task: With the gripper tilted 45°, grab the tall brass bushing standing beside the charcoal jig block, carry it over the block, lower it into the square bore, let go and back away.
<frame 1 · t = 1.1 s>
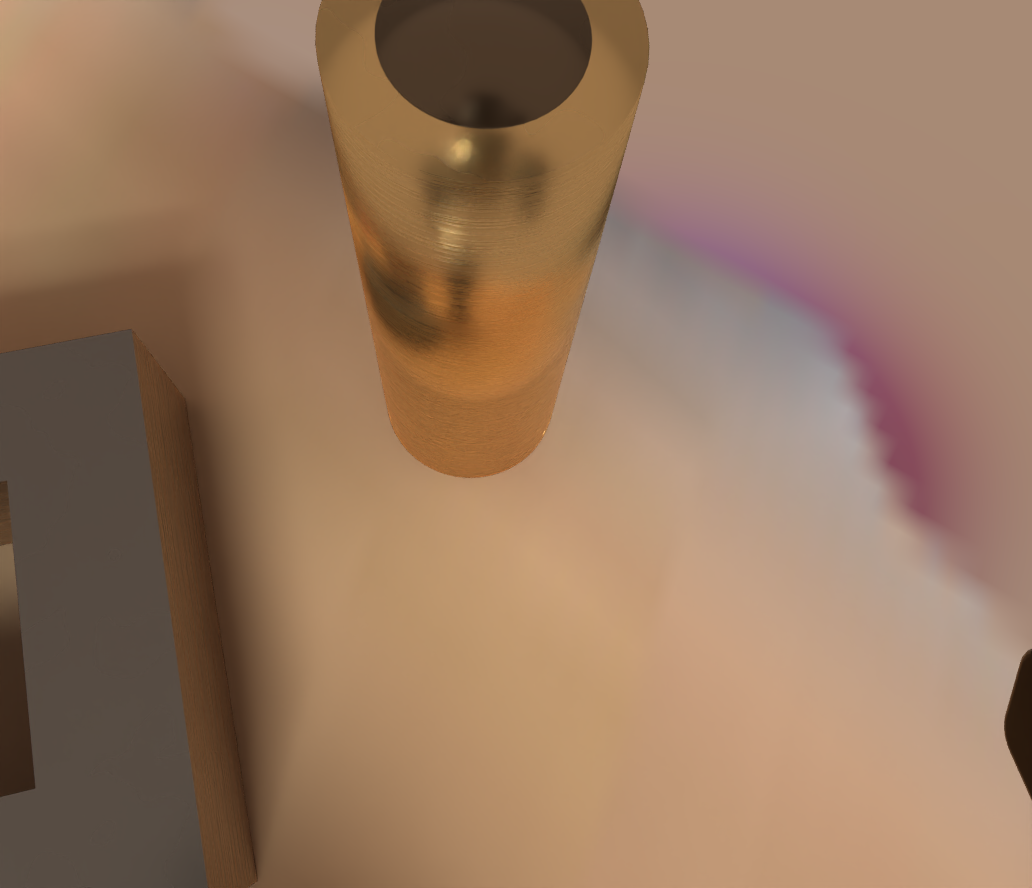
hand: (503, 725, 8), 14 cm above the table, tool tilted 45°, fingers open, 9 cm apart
bushing: (470, 397, 24), on the table
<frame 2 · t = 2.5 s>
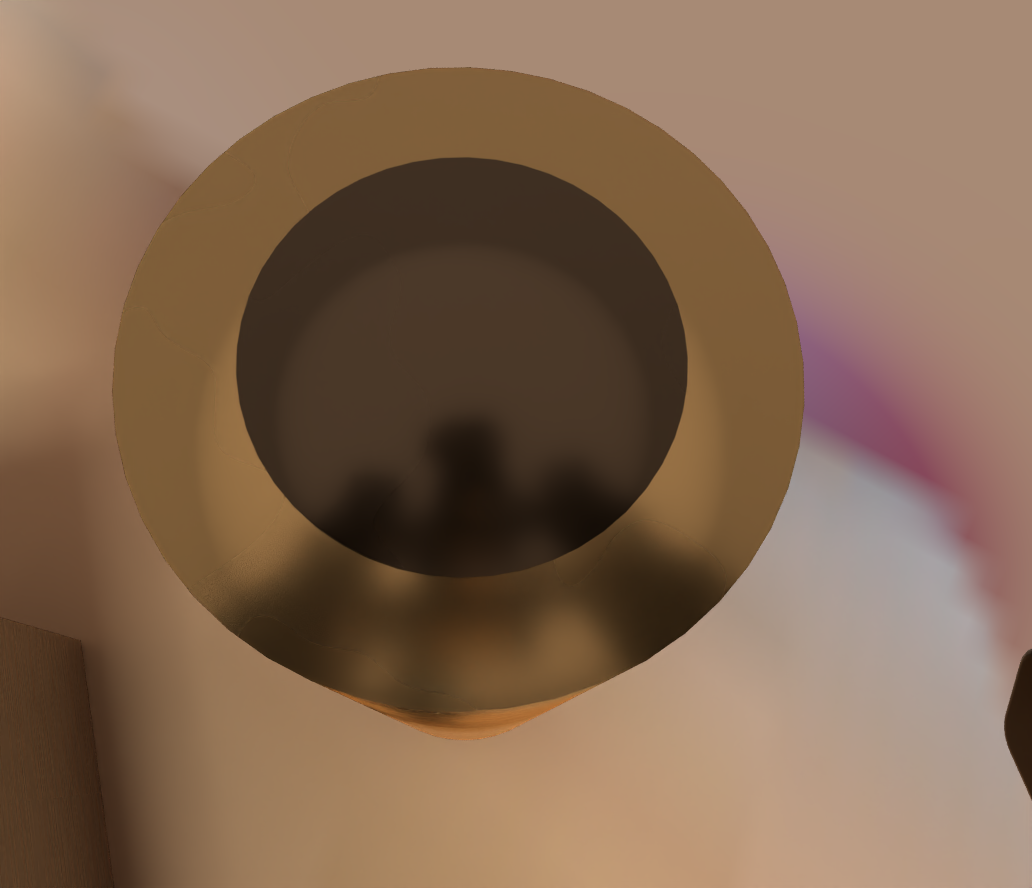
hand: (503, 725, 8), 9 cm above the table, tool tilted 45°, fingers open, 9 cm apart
bushing: (466, 623, 18), on the table
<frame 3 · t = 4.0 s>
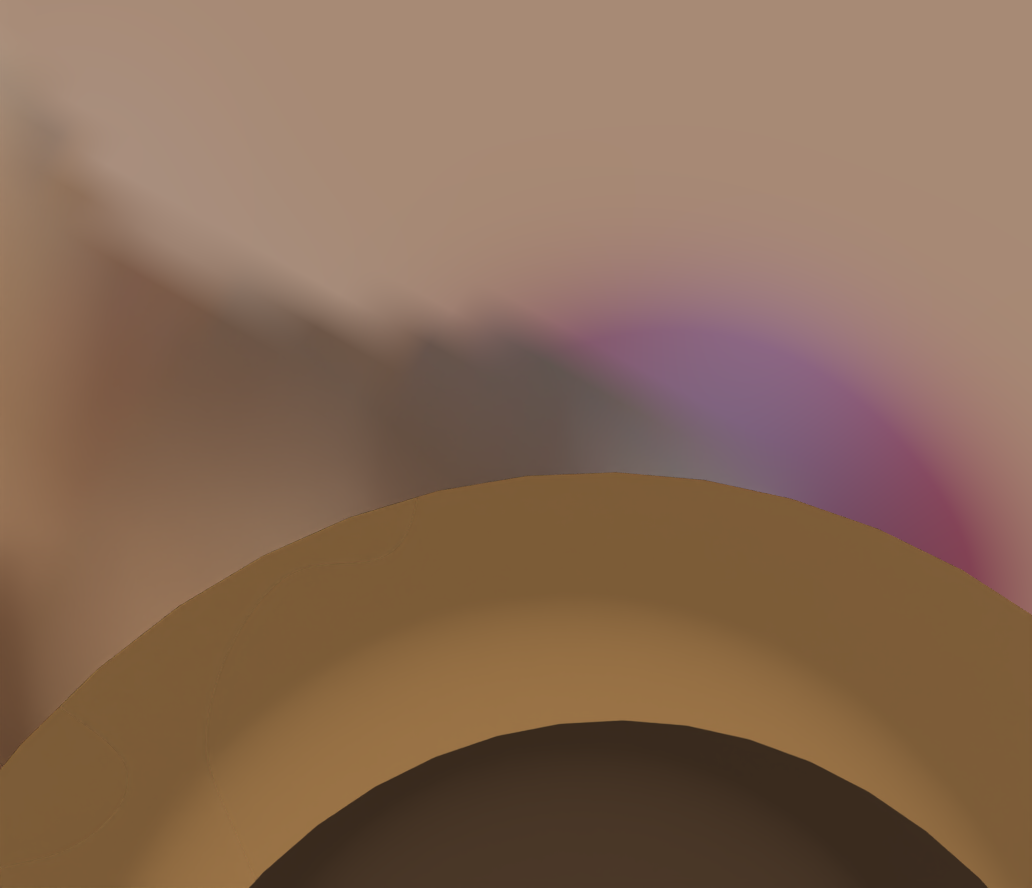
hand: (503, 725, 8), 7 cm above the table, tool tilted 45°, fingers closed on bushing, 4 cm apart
bushing: (494, 835, 14), on the table, touching gripper
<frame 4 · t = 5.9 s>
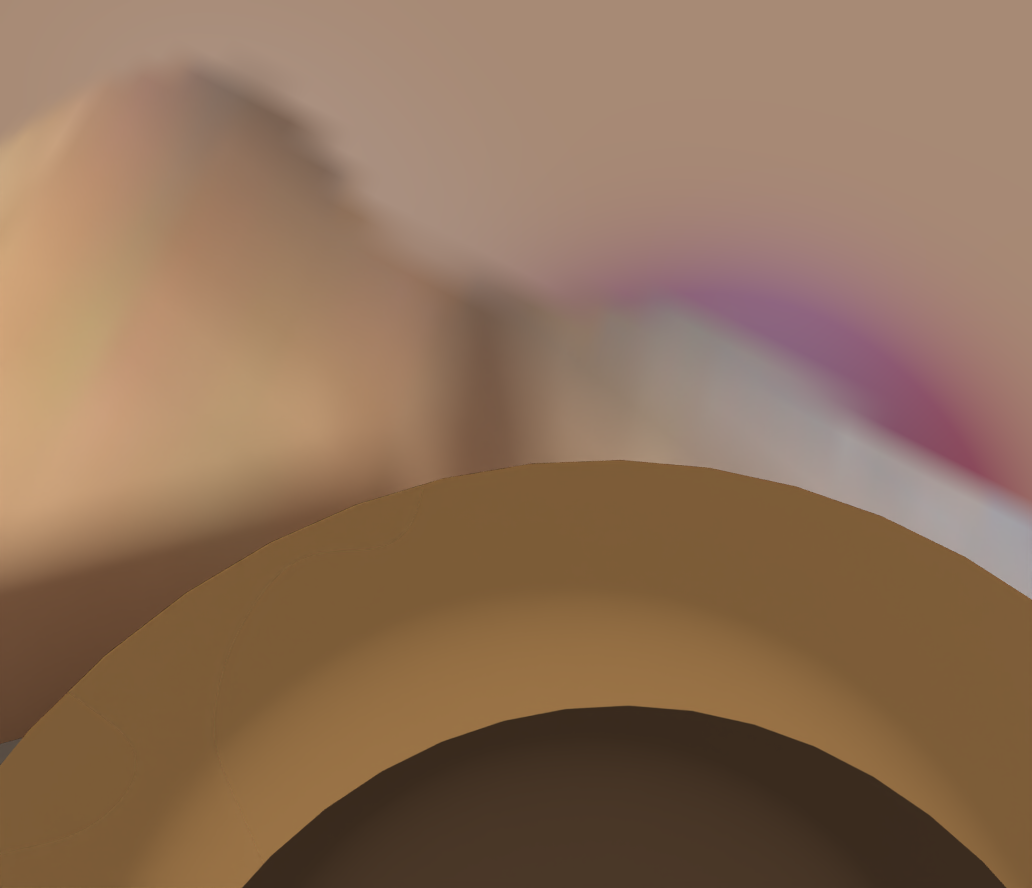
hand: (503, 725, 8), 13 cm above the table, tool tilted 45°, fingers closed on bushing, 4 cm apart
bushing: (495, 833, 14), point 6 cm above the table, touching gripper
when the fingers open (8 cm above the table, at t = 8.1 s): bushing drops 2 cm, resting in jig.
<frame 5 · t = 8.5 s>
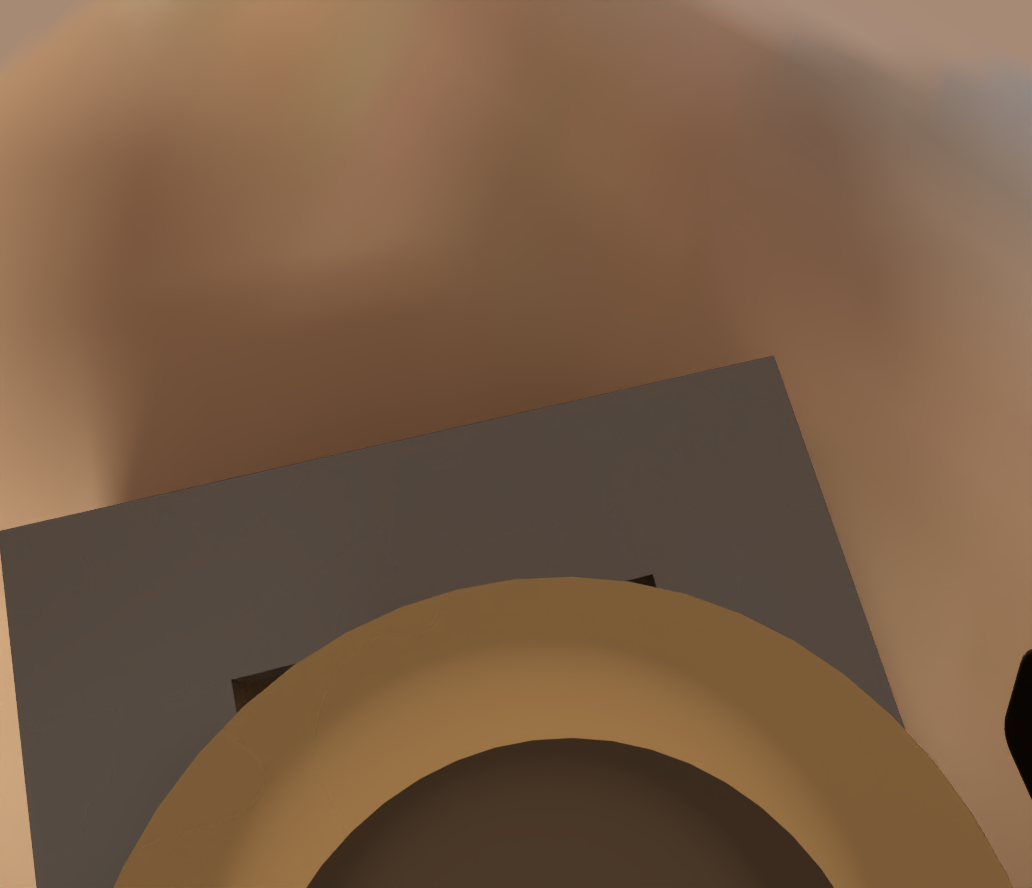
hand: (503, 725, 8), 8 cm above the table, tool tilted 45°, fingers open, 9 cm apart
bushing: (492, 829, 16), resting in jig
jig: (491, 825, 16), on the table
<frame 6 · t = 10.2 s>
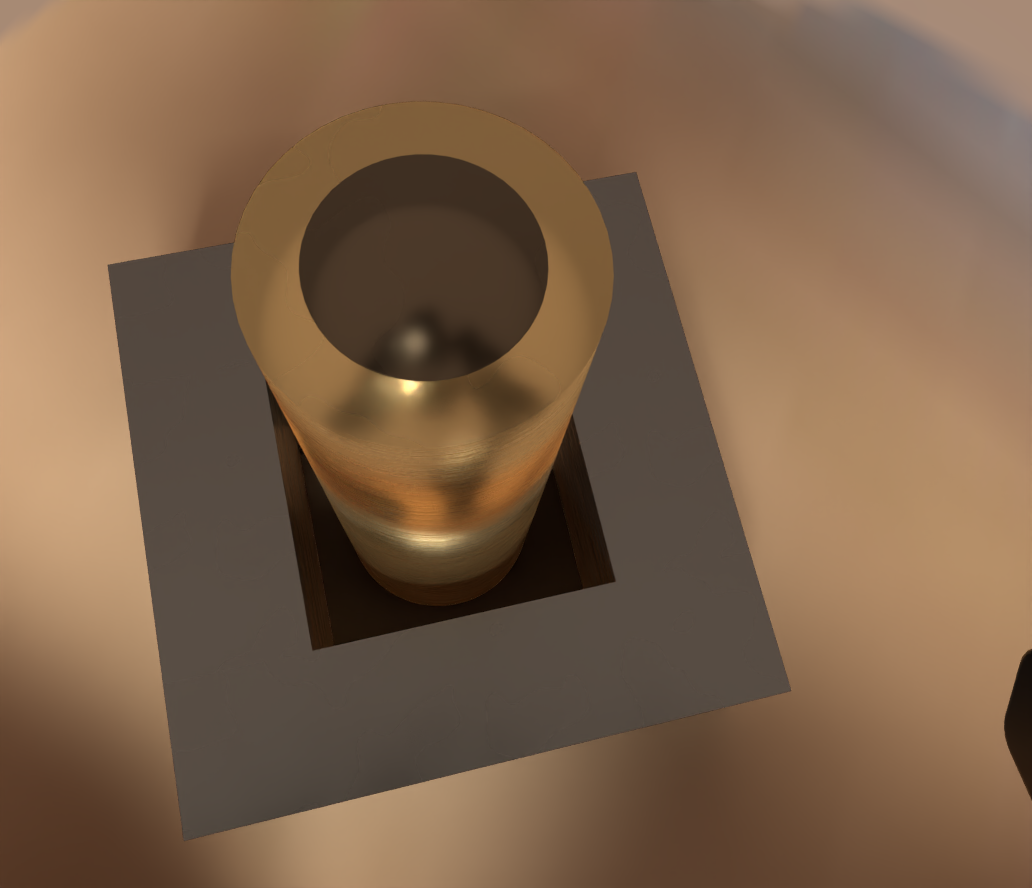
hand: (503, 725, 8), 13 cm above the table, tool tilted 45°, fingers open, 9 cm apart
bushing: (439, 517, 22), resting in jig
jig: (438, 514, 22), on the table
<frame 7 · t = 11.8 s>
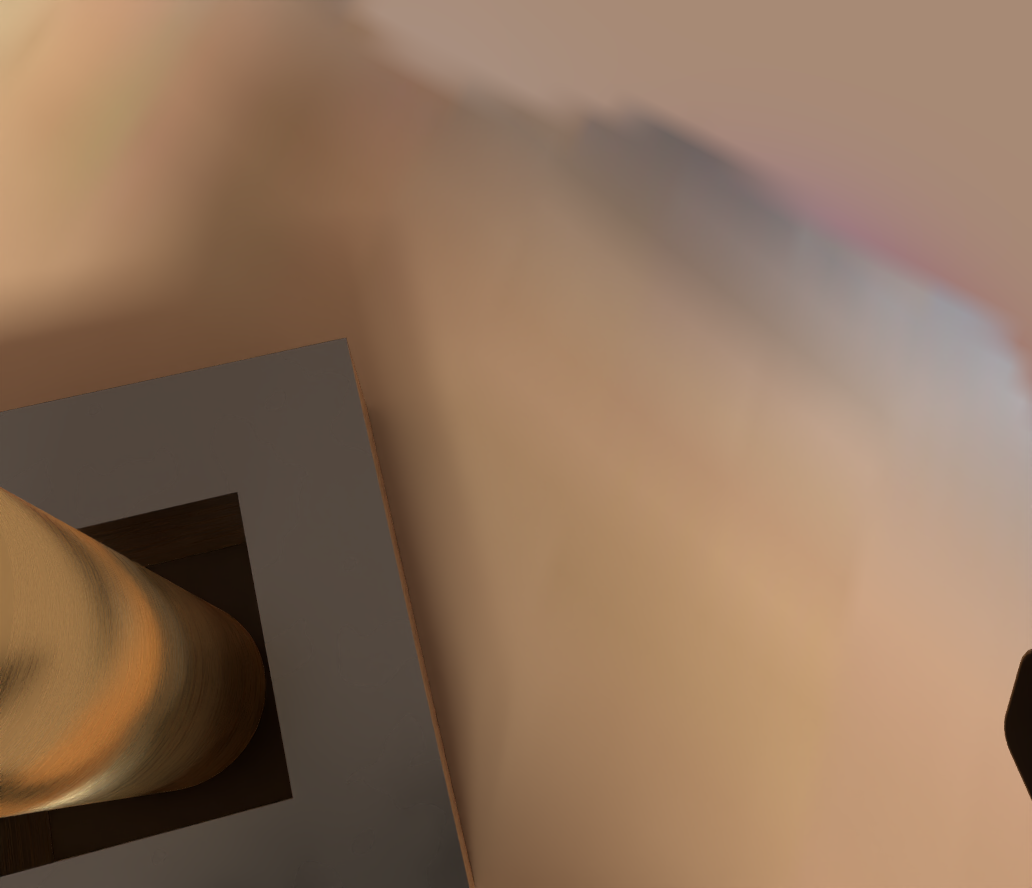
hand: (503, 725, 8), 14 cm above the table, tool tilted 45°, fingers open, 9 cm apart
bushing: (172, 693, 21), resting in jig
jig: (171, 690, 21), on the table
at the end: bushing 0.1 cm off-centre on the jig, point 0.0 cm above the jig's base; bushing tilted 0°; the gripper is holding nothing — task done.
